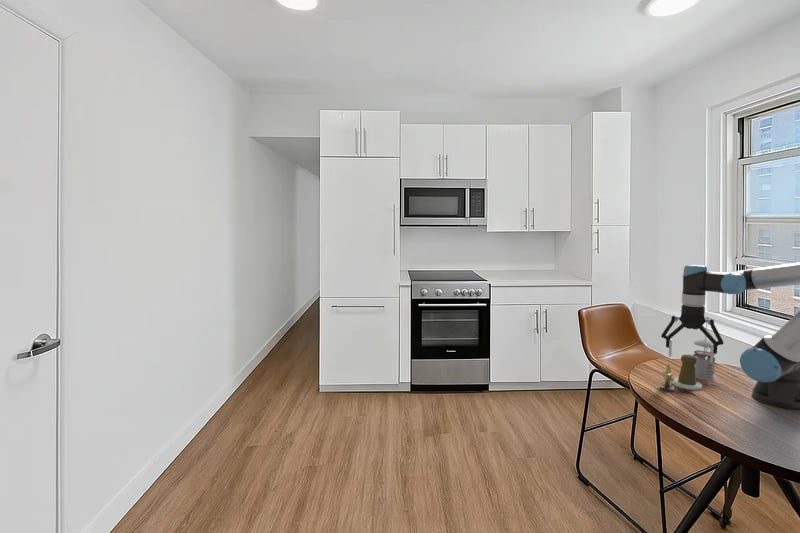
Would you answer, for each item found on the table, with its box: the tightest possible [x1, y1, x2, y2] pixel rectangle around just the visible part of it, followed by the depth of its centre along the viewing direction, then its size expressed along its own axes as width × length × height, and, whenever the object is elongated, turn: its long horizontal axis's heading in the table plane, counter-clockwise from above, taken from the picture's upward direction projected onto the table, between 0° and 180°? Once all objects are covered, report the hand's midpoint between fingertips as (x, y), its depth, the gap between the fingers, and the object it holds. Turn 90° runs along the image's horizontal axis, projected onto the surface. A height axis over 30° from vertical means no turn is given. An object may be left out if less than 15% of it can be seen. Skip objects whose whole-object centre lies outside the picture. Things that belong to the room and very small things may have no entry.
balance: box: [659, 363, 675, 393], centre depth 172 cm, size 4×12×11 cm, turn 145°
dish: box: [671, 377, 703, 391], centre depth 176 cm, size 10×10×1 cm
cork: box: [678, 354, 697, 385], centre depth 176 cm, size 6×6×11 cm
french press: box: [692, 316, 717, 381], centre depth 187 cm, size 10×12×25 cm
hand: (690, 358), depth 175 cm, fingers open, 13 cm apart
